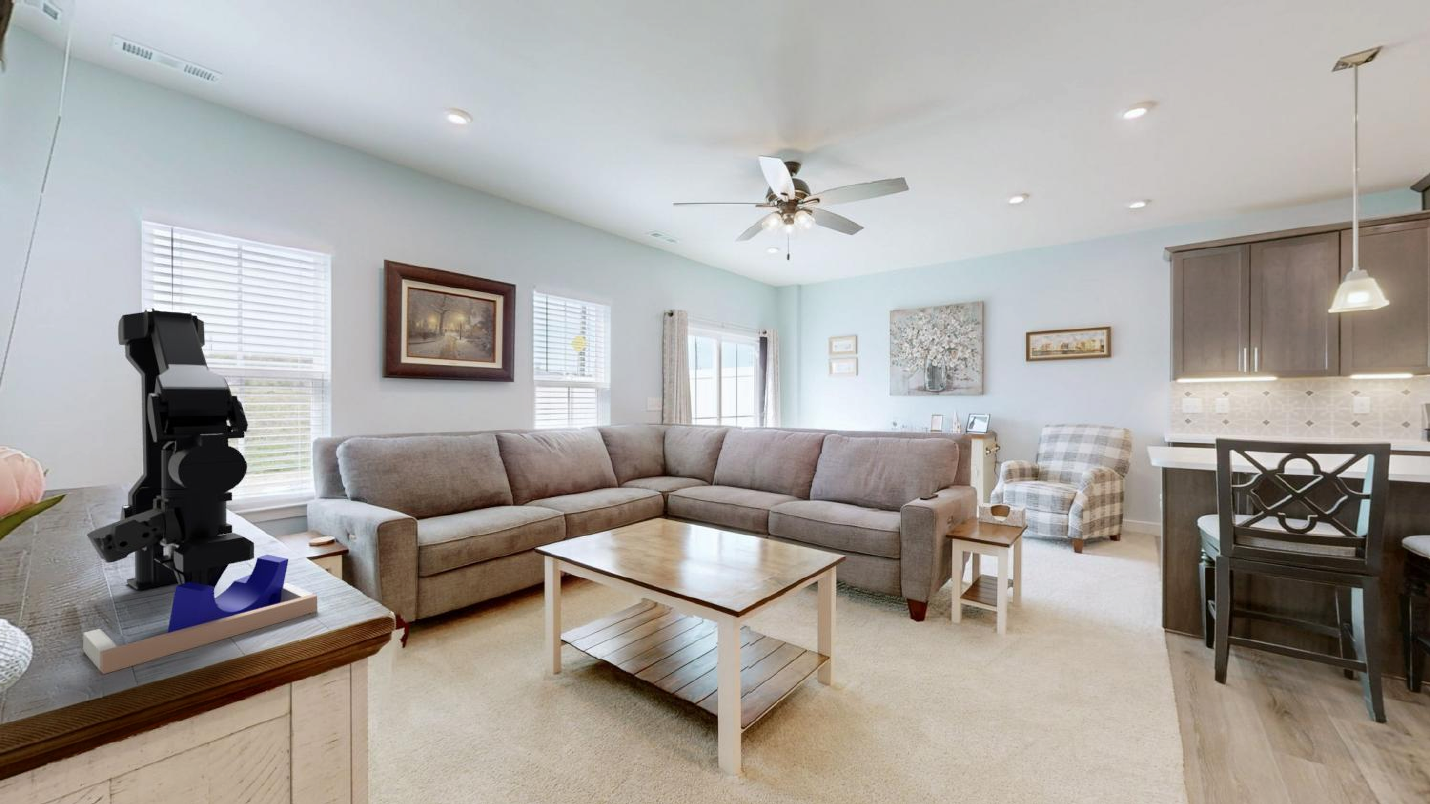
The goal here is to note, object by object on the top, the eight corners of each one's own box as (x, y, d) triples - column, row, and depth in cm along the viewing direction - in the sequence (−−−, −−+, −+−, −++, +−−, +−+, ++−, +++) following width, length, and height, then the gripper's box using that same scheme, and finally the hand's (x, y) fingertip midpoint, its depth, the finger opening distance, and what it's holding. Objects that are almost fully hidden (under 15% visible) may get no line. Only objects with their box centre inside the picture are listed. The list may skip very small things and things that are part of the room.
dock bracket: (83, 651, 58) (83, 632, 58) (287, 597, 74) (287, 582, 74) (103, 674, 53) (102, 654, 53) (317, 611, 69) (317, 595, 69)
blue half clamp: (247, 595, 72) (256, 552, 72) (280, 602, 72) (288, 558, 72) (153, 635, 60) (163, 583, 60) (192, 643, 60) (202, 591, 60)
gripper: (78, 488, 64) (79, 618, 64) (116, 505, 54) (117, 659, 54) (203, 476, 73) (203, 590, 73) (255, 489, 63) (256, 620, 63)
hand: (195, 612), depth 66 cm, fingers closed
